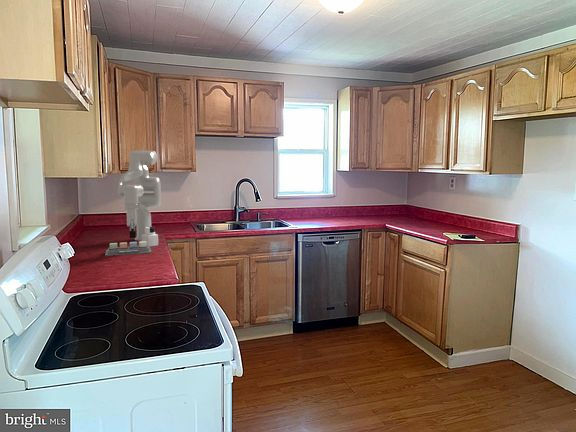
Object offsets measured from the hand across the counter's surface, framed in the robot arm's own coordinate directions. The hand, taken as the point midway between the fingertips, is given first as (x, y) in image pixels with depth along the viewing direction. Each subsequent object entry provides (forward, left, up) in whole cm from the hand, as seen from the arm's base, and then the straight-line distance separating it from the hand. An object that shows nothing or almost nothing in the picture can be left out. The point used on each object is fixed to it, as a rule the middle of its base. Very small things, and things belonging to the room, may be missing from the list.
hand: (132, 237), depth 246 cm
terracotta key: (+3, -4, -5) cm, 8 cm away
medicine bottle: (-19, -2, -9) cm, 21 cm away
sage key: (+6, -9, -5) cm, 12 cm away
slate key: (0, 0, -6) cm, 5 cm away
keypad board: (+1, -2, -9) cm, 9 cm away
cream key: (-4, +4, -6) cm, 8 cm away
